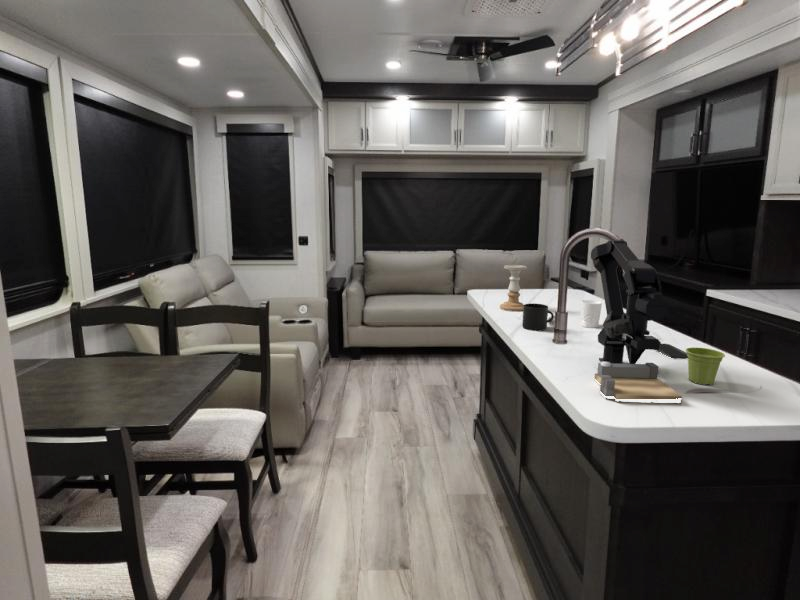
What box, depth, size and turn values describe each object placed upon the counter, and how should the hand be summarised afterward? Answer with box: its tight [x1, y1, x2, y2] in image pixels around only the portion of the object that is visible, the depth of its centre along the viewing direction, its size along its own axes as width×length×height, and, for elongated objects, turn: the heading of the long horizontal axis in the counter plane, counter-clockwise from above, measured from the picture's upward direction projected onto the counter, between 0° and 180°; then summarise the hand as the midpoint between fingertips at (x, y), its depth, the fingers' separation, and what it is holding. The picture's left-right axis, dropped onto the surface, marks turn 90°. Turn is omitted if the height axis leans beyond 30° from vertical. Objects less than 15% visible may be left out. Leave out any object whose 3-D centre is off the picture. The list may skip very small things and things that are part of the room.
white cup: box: [580, 299, 603, 329], centre depth 203 cm, size 8×8×10 cm
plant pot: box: [685, 346, 726, 385], centre depth 140 cm, size 9×9×9 cm
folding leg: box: [597, 361, 660, 379], centre depth 138 cm, size 15×3×4 cm, turn 88°
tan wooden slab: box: [594, 373, 683, 399], centre depth 133 cm, size 16×18×5 cm
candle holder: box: [499, 264, 528, 312], centre depth 235 cm, size 12×12×20 cm
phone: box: [656, 343, 688, 359], centre depth 169 cm, size 8×1×15 cm
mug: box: [522, 303, 554, 332], centre depth 199 cm, size 9×12×9 cm
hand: (631, 364), depth 144 cm, fingers closed
